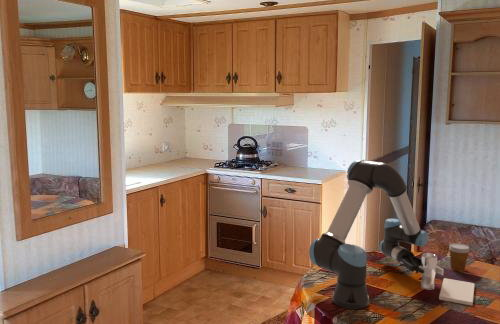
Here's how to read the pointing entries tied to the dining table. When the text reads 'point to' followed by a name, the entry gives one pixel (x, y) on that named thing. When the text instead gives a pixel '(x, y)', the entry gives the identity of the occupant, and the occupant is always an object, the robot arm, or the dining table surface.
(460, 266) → the disposable coffee cup
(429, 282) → the beer glass
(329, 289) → the dining table surface
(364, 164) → the robot arm
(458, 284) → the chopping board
